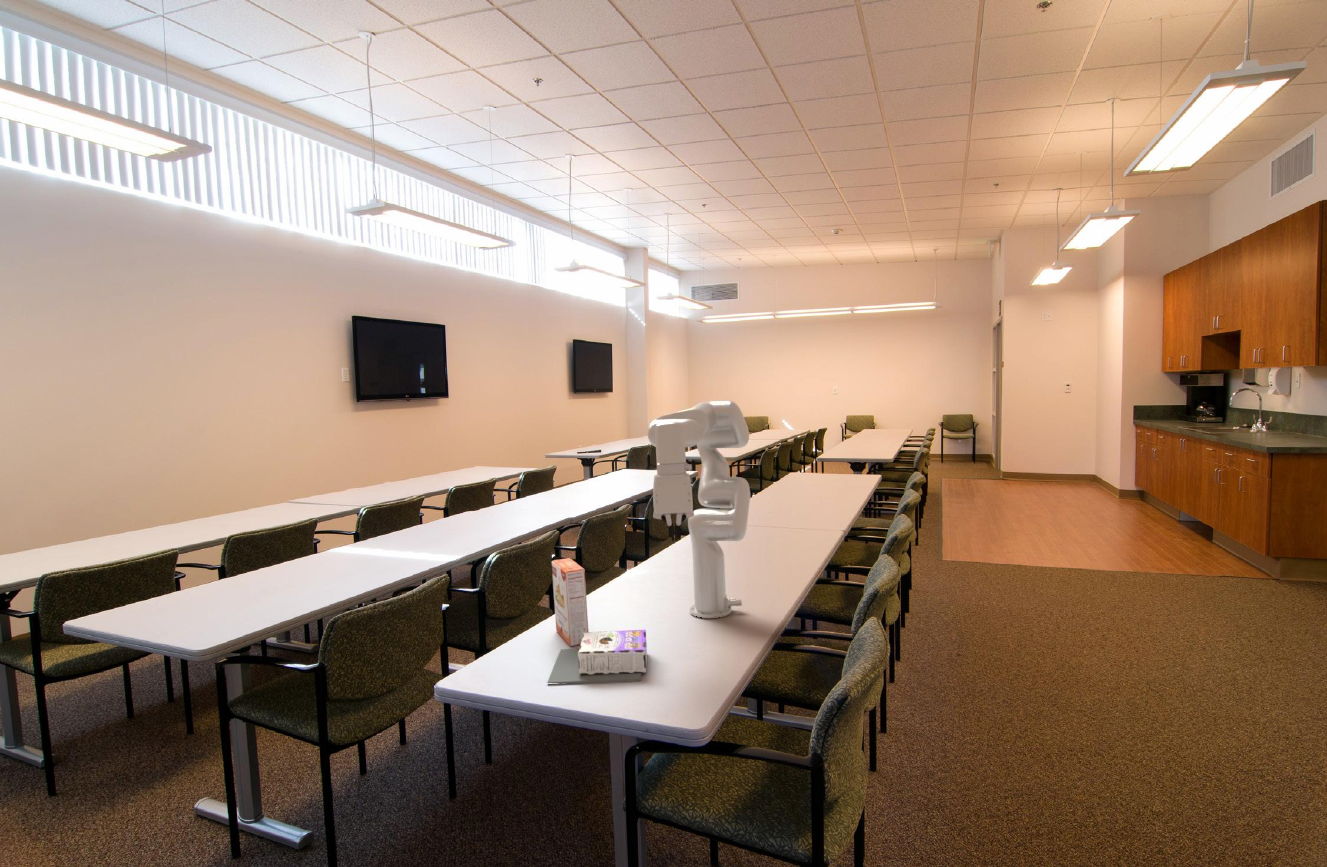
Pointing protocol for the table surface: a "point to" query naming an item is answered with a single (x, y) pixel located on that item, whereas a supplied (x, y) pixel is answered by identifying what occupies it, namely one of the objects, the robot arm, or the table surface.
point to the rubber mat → (569, 673)
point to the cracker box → (570, 600)
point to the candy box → (613, 652)
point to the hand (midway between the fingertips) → (674, 539)
